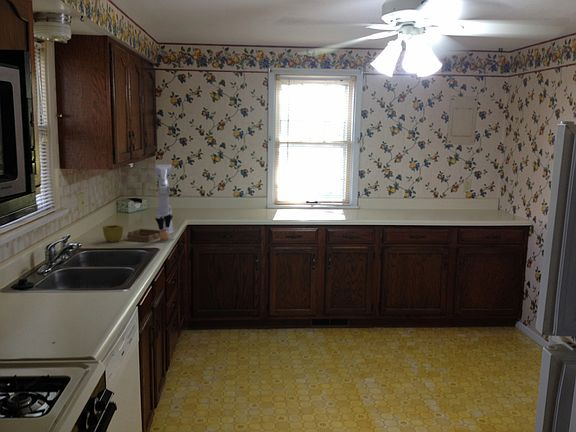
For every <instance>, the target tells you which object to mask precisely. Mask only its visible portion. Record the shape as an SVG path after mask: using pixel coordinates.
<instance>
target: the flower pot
mask: <svg viewBox="0 0 576 432" xmlns="http://www.w3.org/2000/svg"><path fill="white" fill-rule="evenodd" d="M123 230H124V226H121V225H118V224H112V225H105V226H103V225H102V231H103V236H104V239H105V240H106V242H110V243H115V242H120V240H121V239H122V237H123V232H124V231H123Z"/></svg>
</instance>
